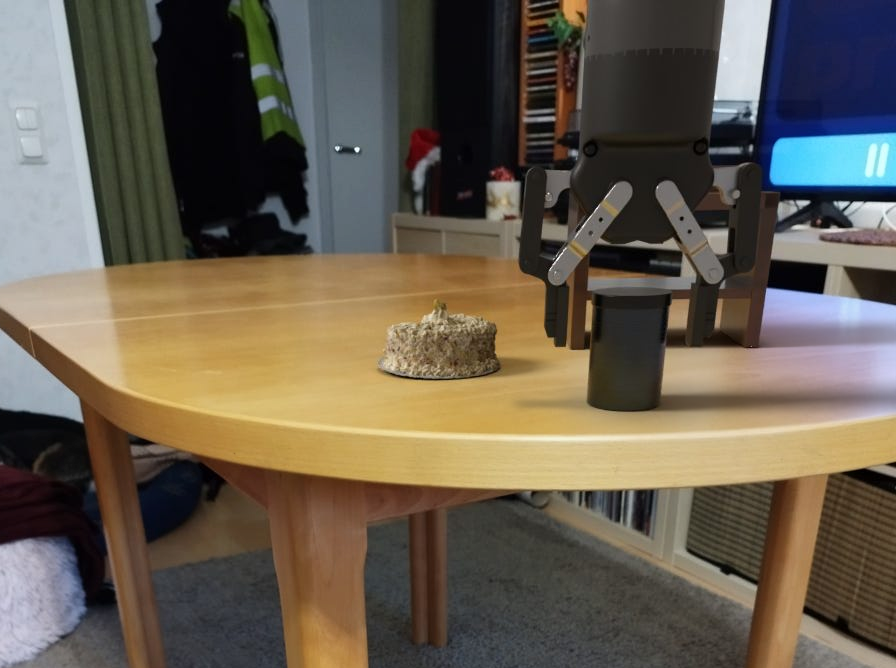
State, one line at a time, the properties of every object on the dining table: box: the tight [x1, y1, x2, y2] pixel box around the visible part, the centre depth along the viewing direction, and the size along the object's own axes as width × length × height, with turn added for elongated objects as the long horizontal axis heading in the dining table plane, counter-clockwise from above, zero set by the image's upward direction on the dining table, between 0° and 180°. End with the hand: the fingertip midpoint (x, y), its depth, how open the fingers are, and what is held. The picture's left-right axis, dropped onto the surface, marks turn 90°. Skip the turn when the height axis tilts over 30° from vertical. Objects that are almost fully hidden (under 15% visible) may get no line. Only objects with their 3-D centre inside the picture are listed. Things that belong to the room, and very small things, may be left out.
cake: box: [376, 298, 502, 380], centre depth 73 cm, size 10×10×5 cm
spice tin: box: [586, 287, 673, 412], centre depth 60 cm, size 5×5×7 cm
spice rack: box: [566, 164, 781, 350], centre depth 81 cm, size 16×10×14 cm, turn 86°
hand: (626, 345), depth 60 cm, fingers open, 8 cm apart
